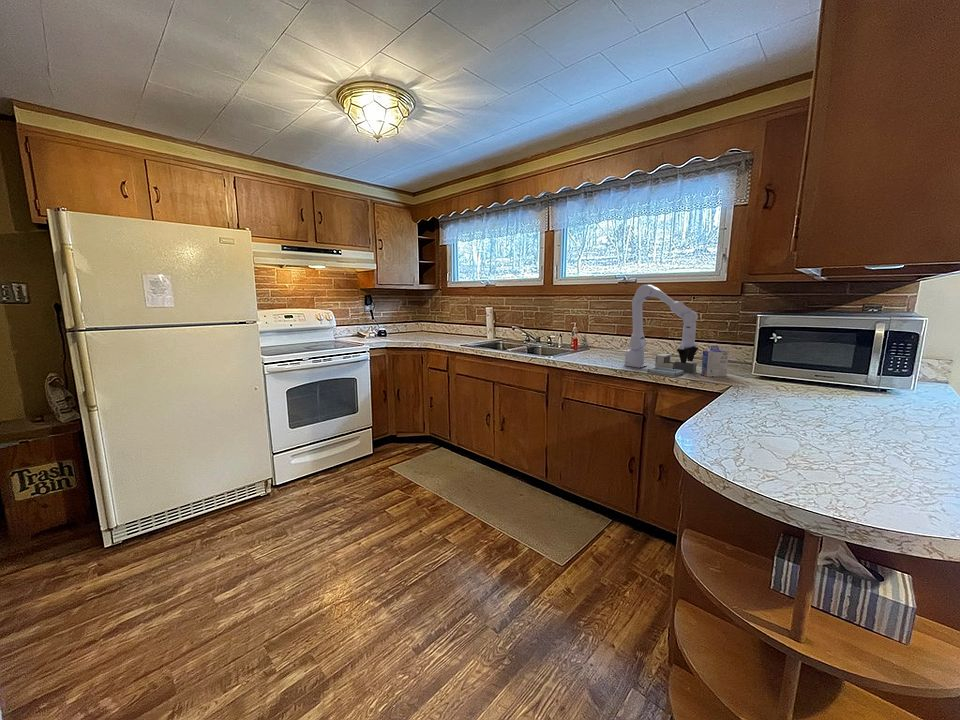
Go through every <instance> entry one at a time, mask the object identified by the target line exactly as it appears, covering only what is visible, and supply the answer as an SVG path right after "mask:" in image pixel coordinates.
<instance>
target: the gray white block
mask: <svg viewBox="0 0 960 720" xmlns="http://www.w3.org/2000/svg"><path fill="white" fill-rule="evenodd" d="M674 362H675V367H674V369H677V370H684V373H686V372H689V373H688V374H694V372H695V373H697V366H698V365H697V362H693V361H688V360H687V361H686V363H681V360H676V361H674Z"/></svg>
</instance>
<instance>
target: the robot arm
mask: <svg viewBox="0 0 960 720" xmlns="http://www.w3.org/2000/svg"><path fill="white" fill-rule="evenodd" d="M649 298H657V299H659V300H661V302H663V303H665V304H666V305H667V306H669V307H670V311H671V312H672V313H674V314H675V315H677V317H679V318H681V319H682V321H683V326H682V335H681V336H682V337H681V343H680V344H679V347H678V348H677V349H676V351H677V353H678V355H679V359H680V360H679V361H681V363H686V361H687V362H693V360H694V358H695V355H696V353H697V351H698V350H699V347H697V346H698V344H697V343H696V342H695V341H696V334H697V333H696V332H697V331H696V330H697V320H698V317H699V315H698V313H697V312H696V311H695V310H692V308H691V307H690V308H689V307H688V306H686V305H685V303H684V302H683V301H679V300H677V301H675V300H674V299H673V298H671V297H670V296H668V294H666V293H665V292H663V291H662V290H661V289H660V288H658V287H657V286H655V285H653V284H642V285H640V286H639V287H637V289H636V291H635V293H634V296H633V298H632V299H631V309H632V310H631V311H632V312H631V314H632V315H631V316H632V317H631V318H632V323H631V324H632V333H631V337H630V341H629V342H628V343H629V348H628V349H627V350H626V351H625V353H624V364H623V366H626V367H633V368H640V367H641V368H644V366H645V367H647V366H648V365H647V364H644V363H645V347H646V346H647V340H646V338H645V334H644V322H643V319H644V318H643V311H644V310H643V303H644V302H645V301H647V299H649Z"/></svg>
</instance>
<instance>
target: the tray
mask: <svg viewBox="0 0 960 720" xmlns="http://www.w3.org/2000/svg"><path fill="white" fill-rule="evenodd" d="M646 372H647V373H649V372H651V373H650V374H655V373H657V374H658V375H662V374H663V376H670V377H675V378H676V377H678V376H681V374H682V375H684V374H685V372H684V370H677V369H670V368H663V367H655V366H652V367H649V368H647V369H646Z"/></svg>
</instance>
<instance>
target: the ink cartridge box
mask: <svg viewBox="0 0 960 720" xmlns="http://www.w3.org/2000/svg"><path fill="white" fill-rule="evenodd" d="M701 357H702V358H701V374H702V375H701V374H700V375H701V376H703V375H704V377H706V376H707V377H708V378H710V377H712V376H713V377H727V374H728V365H729V364H728V362H729V351H727V350H725V349H720V347H719V345H710V350H702V356H701Z"/></svg>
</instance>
